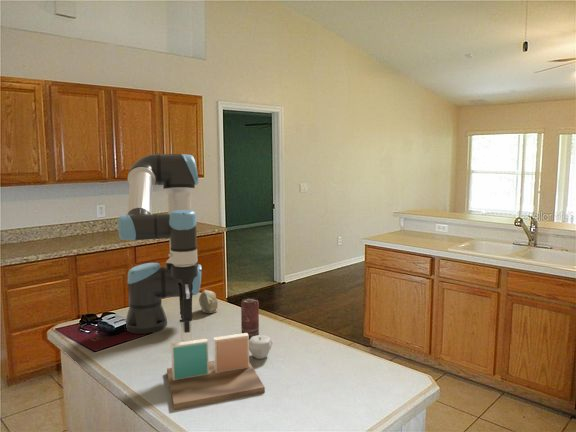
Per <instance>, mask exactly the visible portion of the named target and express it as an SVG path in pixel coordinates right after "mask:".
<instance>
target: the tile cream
mask: <svg viewBox="0 0 576 432" xmlns="http://www.w3.org/2000/svg"><path fill="white" fill-rule="evenodd" d="M213 361H214V370H215V373H219V372H225V371H231V370H237V369H243V368H249V362H250V350H249V335H248V333H242V332H241V333H237V334H235V333H234V334H230V335H229V334H228V335H221V336H215V337H213Z"/></svg>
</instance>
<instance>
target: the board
mask: <svg viewBox="0 0 576 432" xmlns="http://www.w3.org/2000/svg"><path fill="white" fill-rule="evenodd" d="M208 363H209V374H207V375H202V376H196V377H190V378H184V379H178V380H173V378H172V367H167V368H166V374H167V379H168V380H167V381H168V385H169V390H170V394H171V400H172V405H173V410H180V409H185V408H189V407H195V406H200V405H201V406H202V405H205V404H206V405H207V404H210V403H214V402H215V403H216V402H221V401H226V400H231V399H236V398H241V397H246V396H252V395H257V394H262V393H265V391H266V390H265V388H266V386H265V385H264V384H263V382H262V380H261V378H260V377H259V375H258V374H257V372H256V370H255V369H254V367H253V366H252V363H251V362H250V361H249V368H243V369H237V370H231V371H225V372H219V373H215V370H214V360H211V361H208Z"/></svg>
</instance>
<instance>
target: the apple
mask: <svg viewBox="0 0 576 432" xmlns="http://www.w3.org/2000/svg"><path fill="white" fill-rule="evenodd" d="M272 345H273V341H272V339H271V338H270V337H269V336H268V335H264V334H259V335H257V336H252V337H251V339H250V340H249V353H250V355H252V357H254V358H255V359H256V360H257V359H258V360H262V359H265V358H266V357H268V354H269V353H270V351H271V349H272Z"/></svg>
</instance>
